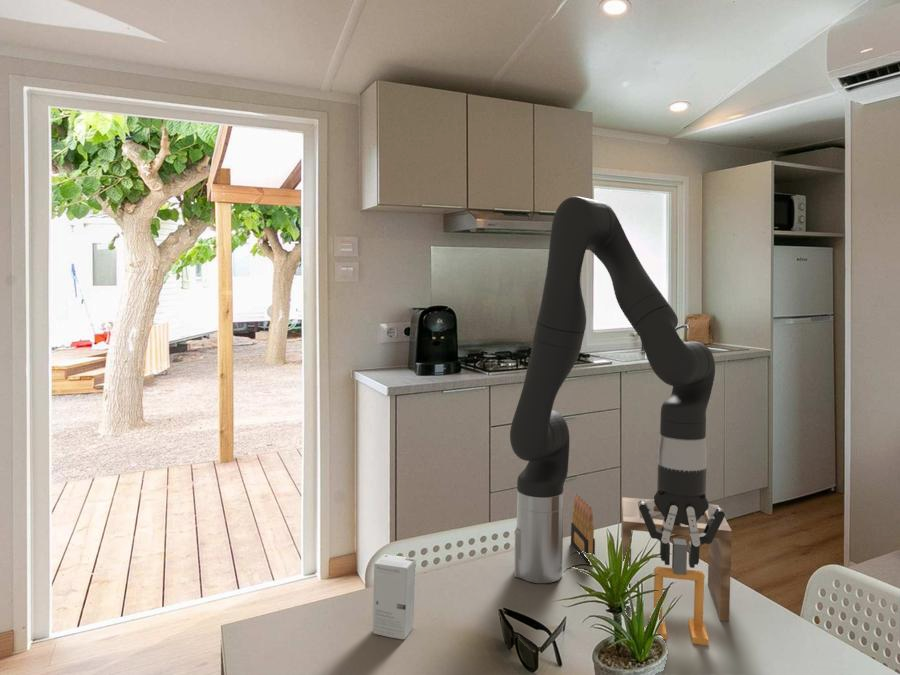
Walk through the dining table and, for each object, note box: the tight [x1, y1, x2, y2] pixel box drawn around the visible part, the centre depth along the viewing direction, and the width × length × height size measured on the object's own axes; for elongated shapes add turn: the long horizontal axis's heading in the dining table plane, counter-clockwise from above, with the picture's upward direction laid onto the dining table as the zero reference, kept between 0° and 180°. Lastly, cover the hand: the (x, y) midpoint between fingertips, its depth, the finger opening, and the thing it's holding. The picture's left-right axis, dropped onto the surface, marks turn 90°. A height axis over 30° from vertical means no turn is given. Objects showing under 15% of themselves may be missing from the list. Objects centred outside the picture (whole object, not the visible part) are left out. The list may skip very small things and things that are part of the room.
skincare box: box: [372, 553, 417, 640], centre depth 103 cm, size 6×4×12 cm
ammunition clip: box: [570, 493, 596, 564], centre depth 135 cm, size 11×2×12 cm, turn 7°
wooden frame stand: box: [620, 496, 733, 622], centre depth 115 cm, size 18×14×18 cm
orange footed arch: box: [648, 537, 709, 646], centre depth 103 cm, size 9×6×16 cm
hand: (679, 564), depth 103 cm, fingers open, 3 cm apart
